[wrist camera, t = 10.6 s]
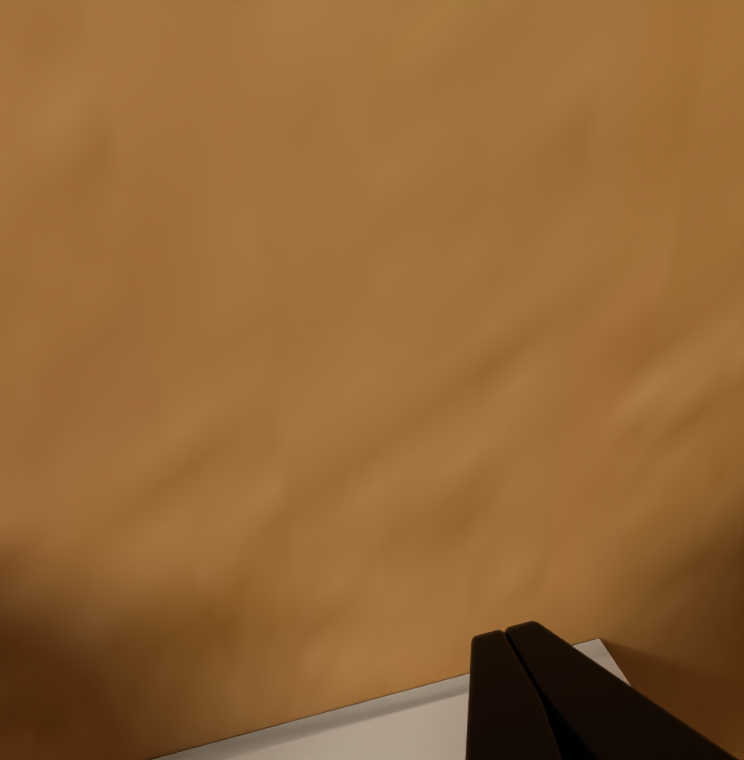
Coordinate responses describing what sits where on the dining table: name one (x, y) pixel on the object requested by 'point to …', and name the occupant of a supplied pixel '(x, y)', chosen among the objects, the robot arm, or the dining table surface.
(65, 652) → the dining table surface
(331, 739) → the box
